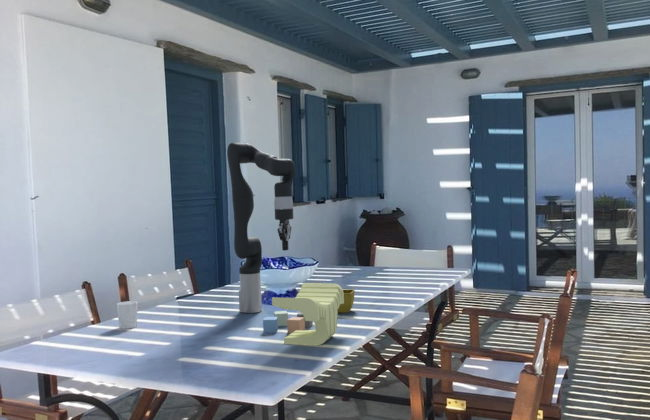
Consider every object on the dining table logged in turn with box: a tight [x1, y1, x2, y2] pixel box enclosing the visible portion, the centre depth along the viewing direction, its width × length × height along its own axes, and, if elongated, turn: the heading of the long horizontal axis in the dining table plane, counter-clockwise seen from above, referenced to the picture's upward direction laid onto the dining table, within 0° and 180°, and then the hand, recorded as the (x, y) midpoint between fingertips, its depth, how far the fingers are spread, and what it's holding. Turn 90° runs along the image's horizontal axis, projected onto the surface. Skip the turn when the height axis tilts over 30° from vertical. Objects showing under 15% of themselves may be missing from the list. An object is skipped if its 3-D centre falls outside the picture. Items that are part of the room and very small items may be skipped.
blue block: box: [262, 316, 279, 334], centre depth 226 cm, size 5×5×5 cm
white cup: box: [116, 300, 138, 330], centre depth 243 cm, size 8×8×10 cm
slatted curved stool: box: [271, 282, 344, 346], centre depth 211 cm, size 30×16×18 cm, turn 162°
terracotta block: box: [286, 316, 306, 334], centre depth 224 cm, size 5×5×5 cm
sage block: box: [273, 310, 289, 327], centre depth 237 cm, size 5×5×5 cm
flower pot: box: [337, 288, 355, 314], centre depth 257 cm, size 9×9×9 cm
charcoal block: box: [296, 311, 314, 328], centre depth 234 cm, size 5×5×5 cm
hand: (285, 250), depth 243 cm, fingers closed
